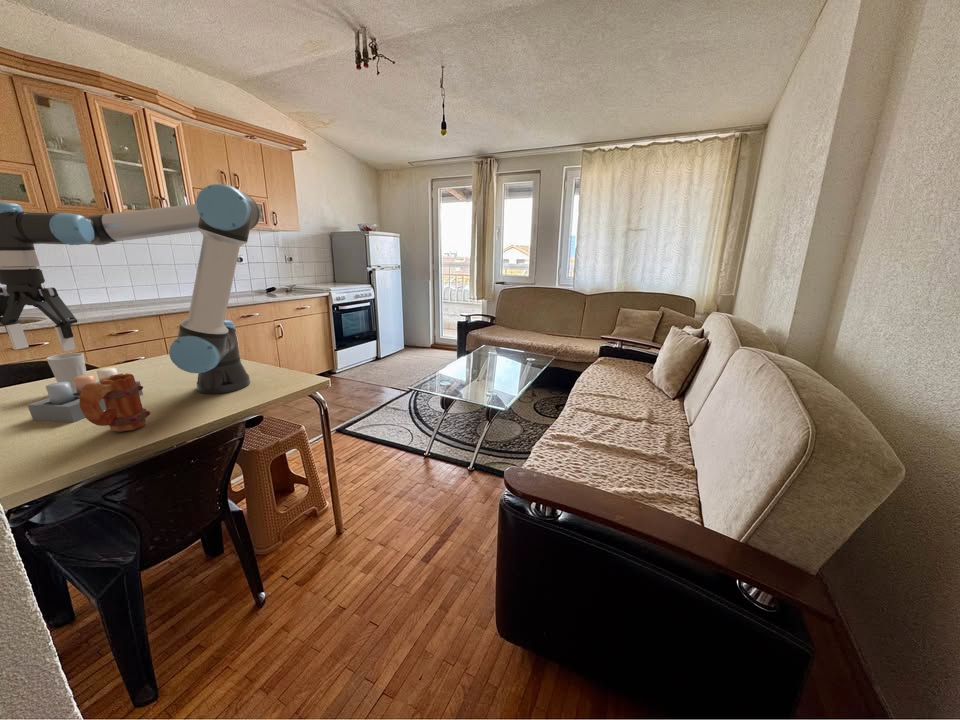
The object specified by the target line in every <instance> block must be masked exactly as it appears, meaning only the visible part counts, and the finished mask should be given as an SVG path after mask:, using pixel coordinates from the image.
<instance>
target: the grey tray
mask: <svg viewBox="0 0 960 720" xmlns="http://www.w3.org/2000/svg"><path fill="white" fill-rule="evenodd" d="M96 382H97V383H98V384H100V381H96ZM135 382H136V383H138V384H139V385H140V386H142V385H141V382H140V381H139V380H135ZM72 392H73V395H74V398H75V400H74V401H71V402H68V403H64V404H57V405H53V404H51V401H50V398H49V397H47V398H45V399H42V400H37V401H34V402H32V403H28V404H27V408H28V411H29V413H30V416H31V419H32V421H45V422H63V423H64V422H65V423H67V422H69V423H75V422H78V421H80V420H82V419H86V417H85V416H84V414H83V413H82V411H81V408H80V395H78V394H77V391H76V389H74V390H72ZM143 394H144V393H143V389H142V390H140V391H139V396H142V395H143ZM99 405H100V407H101V409H102V410H103V411H105V410H106V406H105V403H104V399H101V401H100V402H99Z"/></svg>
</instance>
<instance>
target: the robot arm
mask: <svg viewBox="0 0 960 720" xmlns="http://www.w3.org/2000/svg"><path fill="white" fill-rule="evenodd" d="M195 201H196V202H195V203H191V204H184V205H183V204H182V205H176V206H175V205H174V206H166V207H157V208H156V207H155V208H150V209H148V208H147V209H140V210H132V211H130V210H129V211H122V212H112V213H104V214H94V215H86V216H83V215H82V214H78V213H77V214H76V213H75V214H74V213H69V212H68V213H67V212H29V211H24V210H23V207H22V206H21V205H20V204H17V203H13V202H5V201H4V202H2V201H0V285H4V286H0V324H1V325H2V326H4V328H5V331H6V333H7V336H8V337H9V340H10V342H11V345H12V348H13V350H15V351H16V350H22V349H25V348H26V349H27V348H29V347H30V346H29V344H28V340H27V338H26V335H25V331H24V330H23V326H22V323H21V321H19V319H20V317H21V314H22V312H23V310H24V308H25V306H33V308H38V310H40V311H41V312H42V313H43V314H44V315H45V316H46V317H47V318H48V319H50V321H52V322H53V323H54V324H55V325H54V330H55V332H56V336H57V340H58V342H59V346H60V349H61V351H62V352H68V351H72V350H76V349H77V347H76V344H75V341H74V333H73V329H72V327H71V326H72V324H76V323H78V319H77V318H76V317H75V315H74V313H72V311H71V310H70V309H69V307H68V306H67V305H66V304H65V302H64V301H63V300H62V298H61V297H60V296H59V293H58V291H57V289H56V288H55V287H44V288H43V286H42V284H44V283H45V282H46V280H45V277H44V273H43V270H42V269H41V268H37V267H39V266H40V262H39V259H38V256H37V254H36V253H37V252H36V248H35V244H36V245H40V244H41V245H68V246H80V245H94V246H105V245H108V244H111V243H116V242H123V241H132V240H139V239H140V240H141V239H147V238H155V237H162V236H163V237H165V236H170V235H171V236H172V235H179V234H185V233H186V234H187V233H188V234H189V233H193V232H194V233H196V232H200V233H201V234H202V236H203V237H202V243H201V248H200V252H199V259H198V263H197V264H198V265H197V267H196V268H197V269H196V274H195V280H194V286H193V290H192V295H191V301H190V305H189V306H190V307H189V311H188V316H187V318H186V319H184V320H181V321H180V323H179V328H178V334H177V338H175V340H173V342H172V343H171V345H170V346H169V348H168V355H169V358H170V360H171V362H172V363H173V364H174V365H175V366H176V367H177V368H178V369H179V370H182V371H184V372H187V373H189V374H190V373H191V374H198V375H197V381H196V389H197V392H199V393H200V394H205V395H207V394H208V395H209V394H210V395H212V394H213V395H214V394H215V395H216V394H224V393H230V392H234V391H238V390H241V389H244V388H245V387H247V386H248V385H250V383H251V378H250V375H249V374H248V372H247V370H246V369H245V367H244V366H243V363H242V362H241V361H242V360H241V355H240V349H239V344H238V338H237V328H236V326H235V323H234V321H232V320H230V319H226V314H227V309H228V305H229V301H230V296H231V291H232V287H233V282H234V276H235V270H236V266H237V262H238V257H239V253H240V247H242V246H244V245H246V244H247V243H248V240H249V237H250V236H249V235H250V231H251V230H252V229H254V228H255V227H256V226H257V225H258V223H259V222H260V218H261V212H260V208H259V206H258V204H257V201H255V199H253V197H251V195H249V194H248V193H245V192H244V191H242V190H240V189H238V188H236V187H234V186H232V185H227V184H225V183H224V184H222V183H213V184H209V185H207V186H204V187H203V188H202V189H201V190H200V191H199V193H198V194H197V197H196V200H195Z"/></svg>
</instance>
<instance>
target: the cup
mask: <svg viewBox="0 0 960 720" xmlns="http://www.w3.org/2000/svg"><path fill="white" fill-rule="evenodd" d="M45 359H46V361H47V363H48V365H49V368H50V369H51V372H52V374H53V376H54V378H55V381H56V383H58V382H69V383H70V386H71V389H72V390H74V389H76V388H75V385H74V381H73V378H74V377H76V376H80V375H86V374H88V373H87V367H86V364H85V363H86V362H85V356H84V353H83V352H69V353H68V352H67V353H61V354H55V355H51V356H47V357H46V358H45Z"/></svg>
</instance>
